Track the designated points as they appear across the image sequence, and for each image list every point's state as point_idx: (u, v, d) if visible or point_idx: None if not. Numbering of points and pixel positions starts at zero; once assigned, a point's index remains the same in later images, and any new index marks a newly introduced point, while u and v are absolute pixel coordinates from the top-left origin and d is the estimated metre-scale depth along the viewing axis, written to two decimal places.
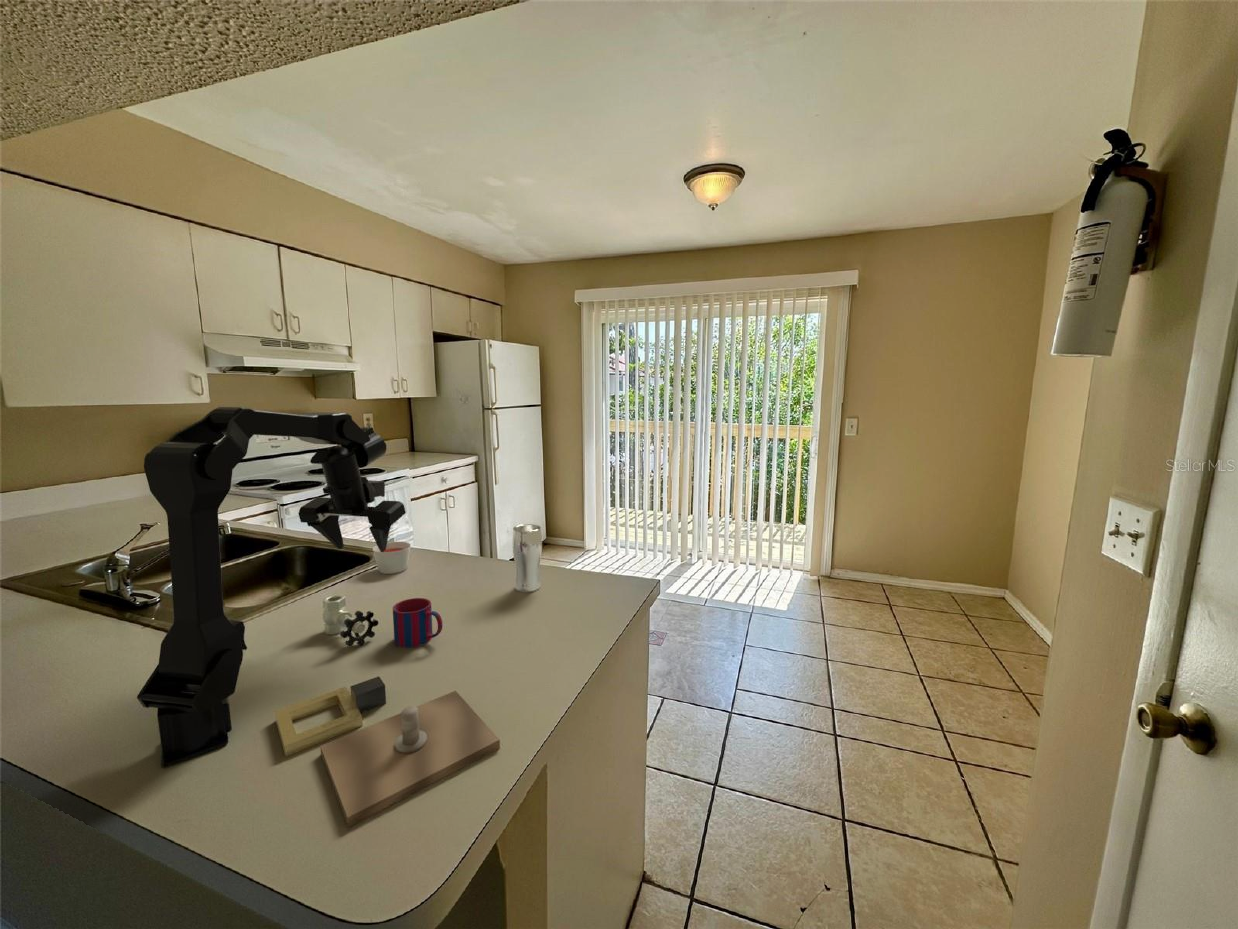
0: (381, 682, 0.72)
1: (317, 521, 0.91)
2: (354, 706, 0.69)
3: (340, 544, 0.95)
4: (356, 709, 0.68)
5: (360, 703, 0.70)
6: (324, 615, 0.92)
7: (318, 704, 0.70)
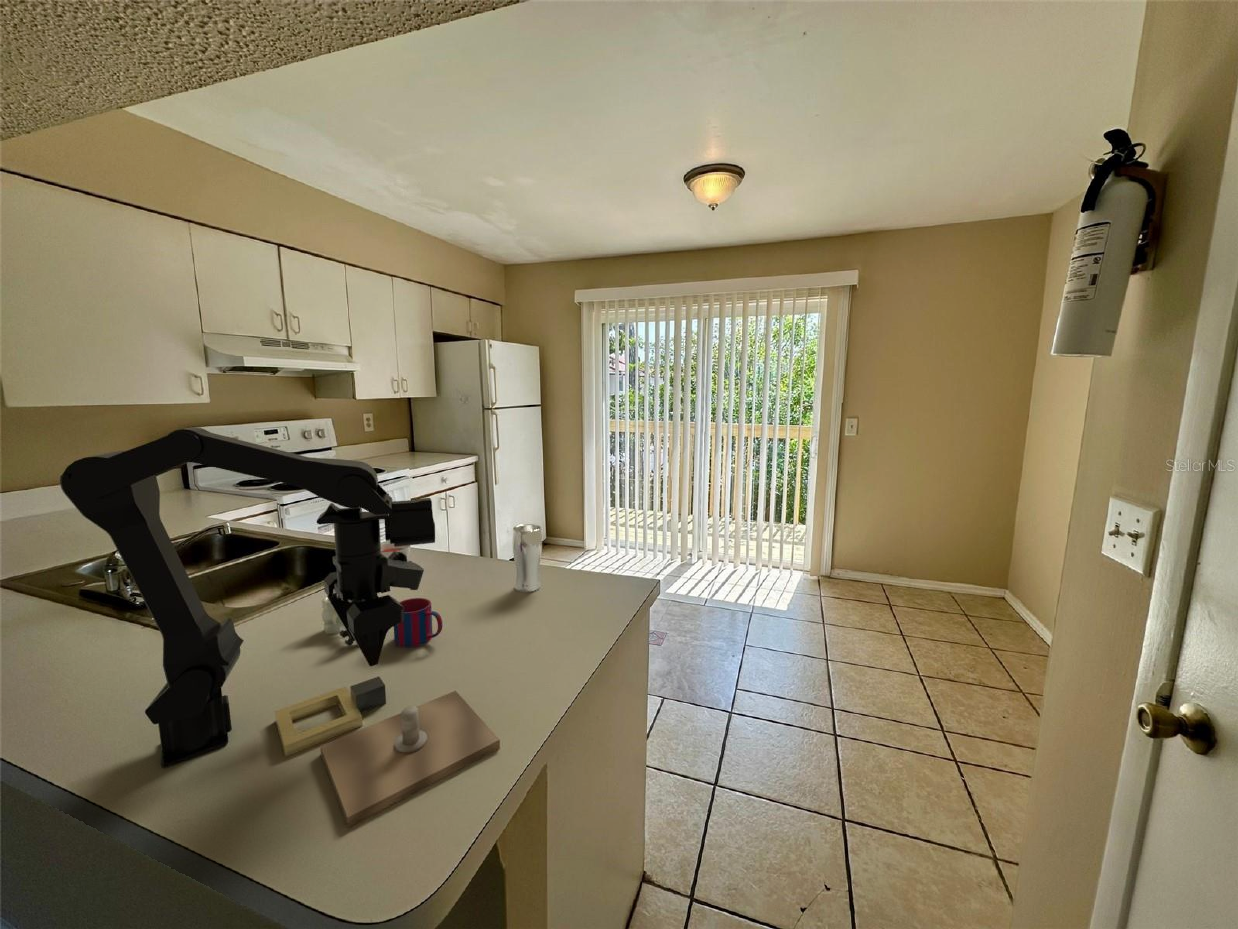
0: (381, 682, 0.72)
1: (335, 596, 0.73)
2: (354, 706, 0.69)
3: None
4: (356, 709, 0.68)
5: (360, 703, 0.70)
6: (323, 615, 0.92)
7: (318, 704, 0.70)
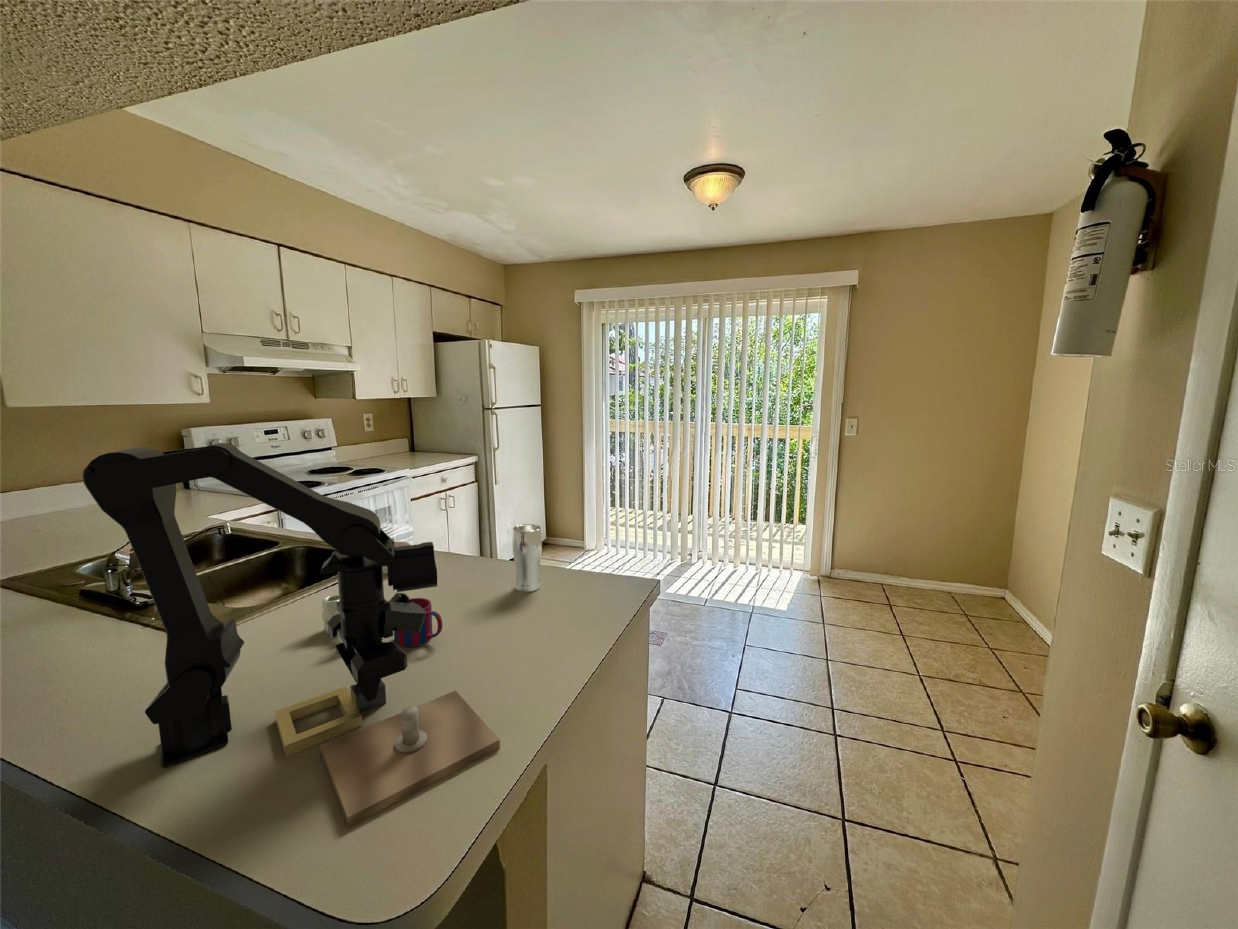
0: (381, 682, 0.72)
1: (344, 646, 0.72)
2: (354, 706, 0.69)
3: None
4: (356, 709, 0.68)
5: (360, 703, 0.70)
6: (323, 614, 0.92)
7: (318, 704, 0.70)
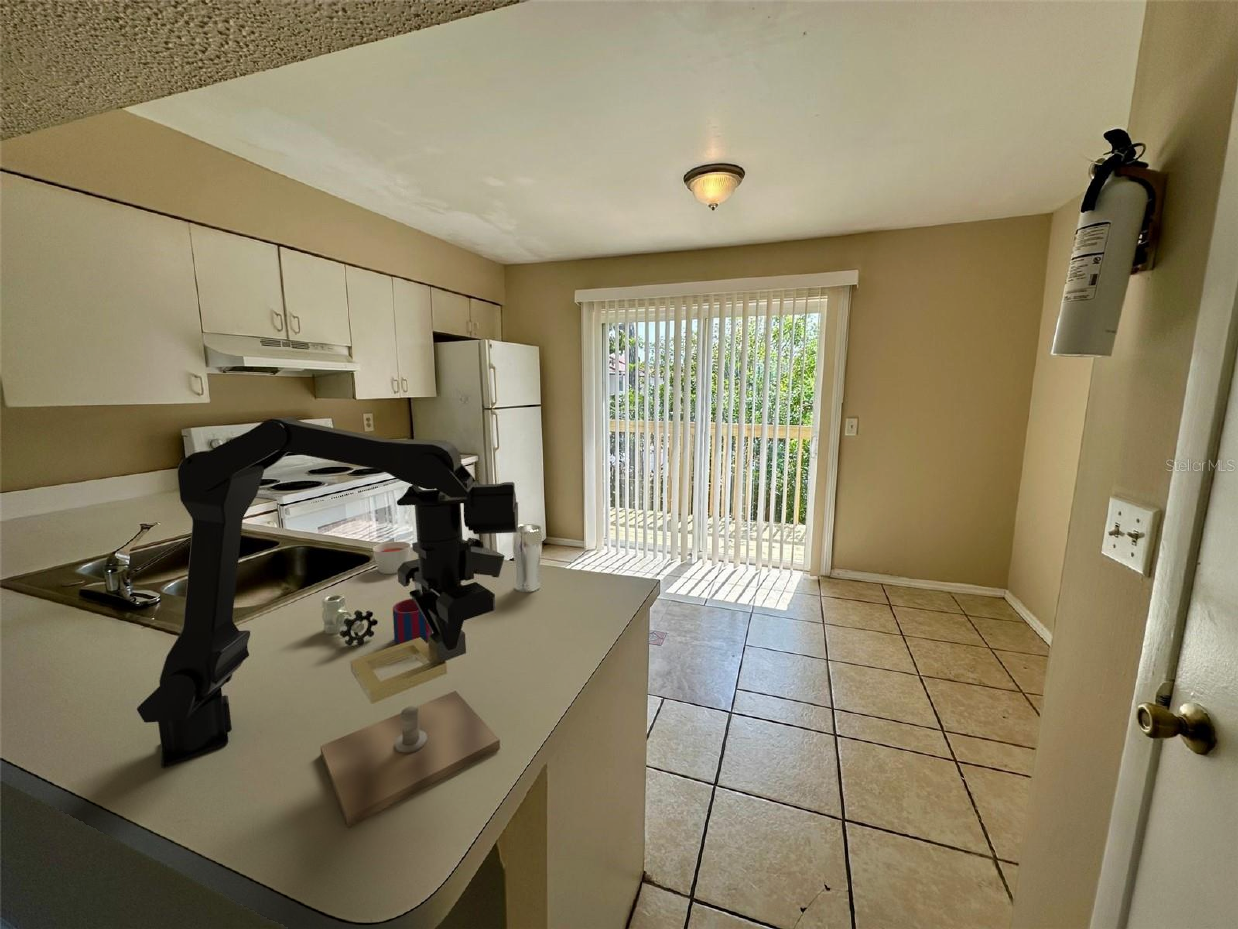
0: None
1: (419, 592, 0.66)
2: (435, 654, 0.63)
3: None
4: (438, 657, 0.63)
5: (441, 652, 0.64)
6: (323, 615, 0.92)
7: (394, 653, 0.64)
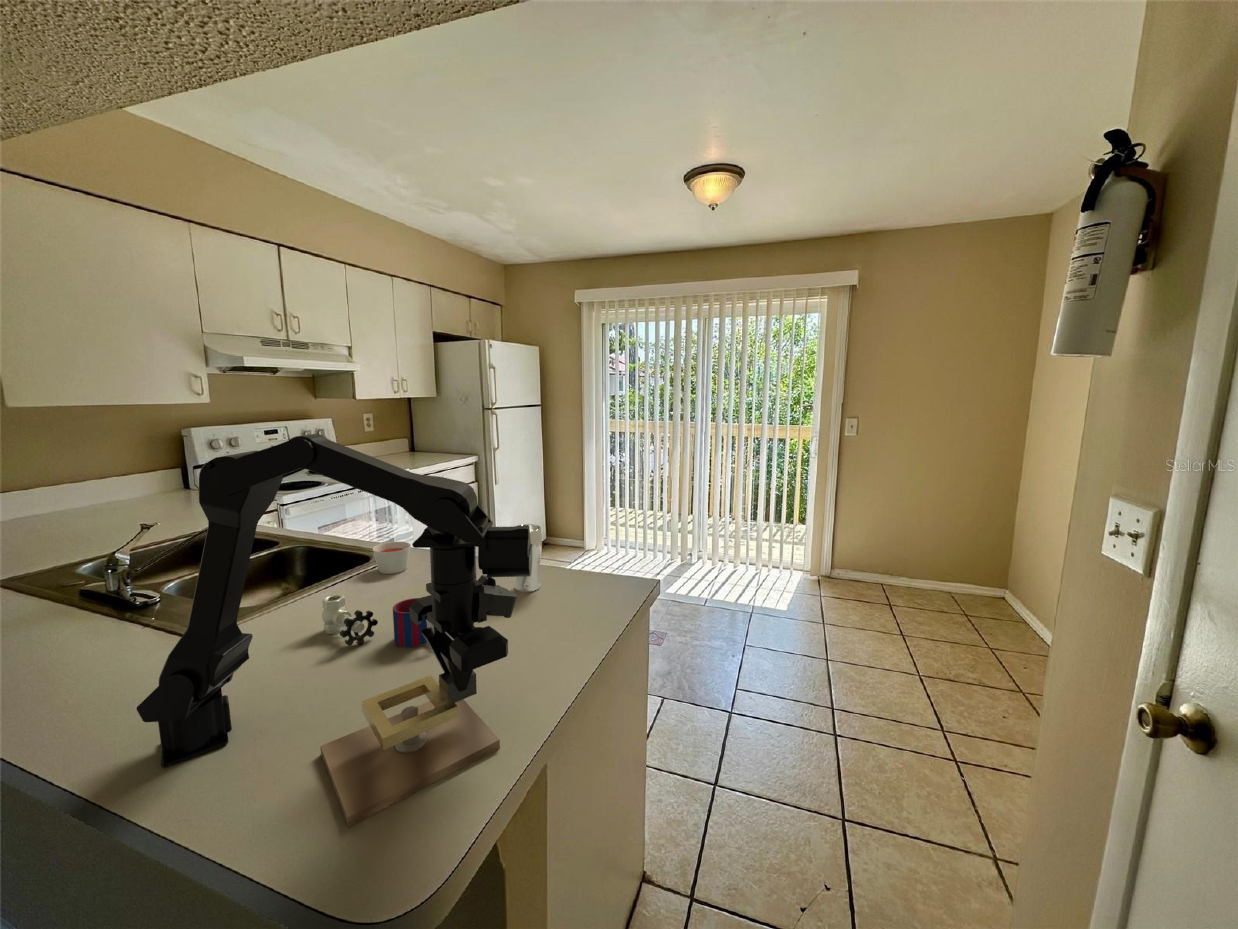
0: None
1: (431, 632, 0.66)
2: (446, 696, 0.63)
3: None
4: (449, 699, 0.63)
5: (452, 693, 0.64)
6: (323, 614, 0.92)
7: (405, 693, 0.64)
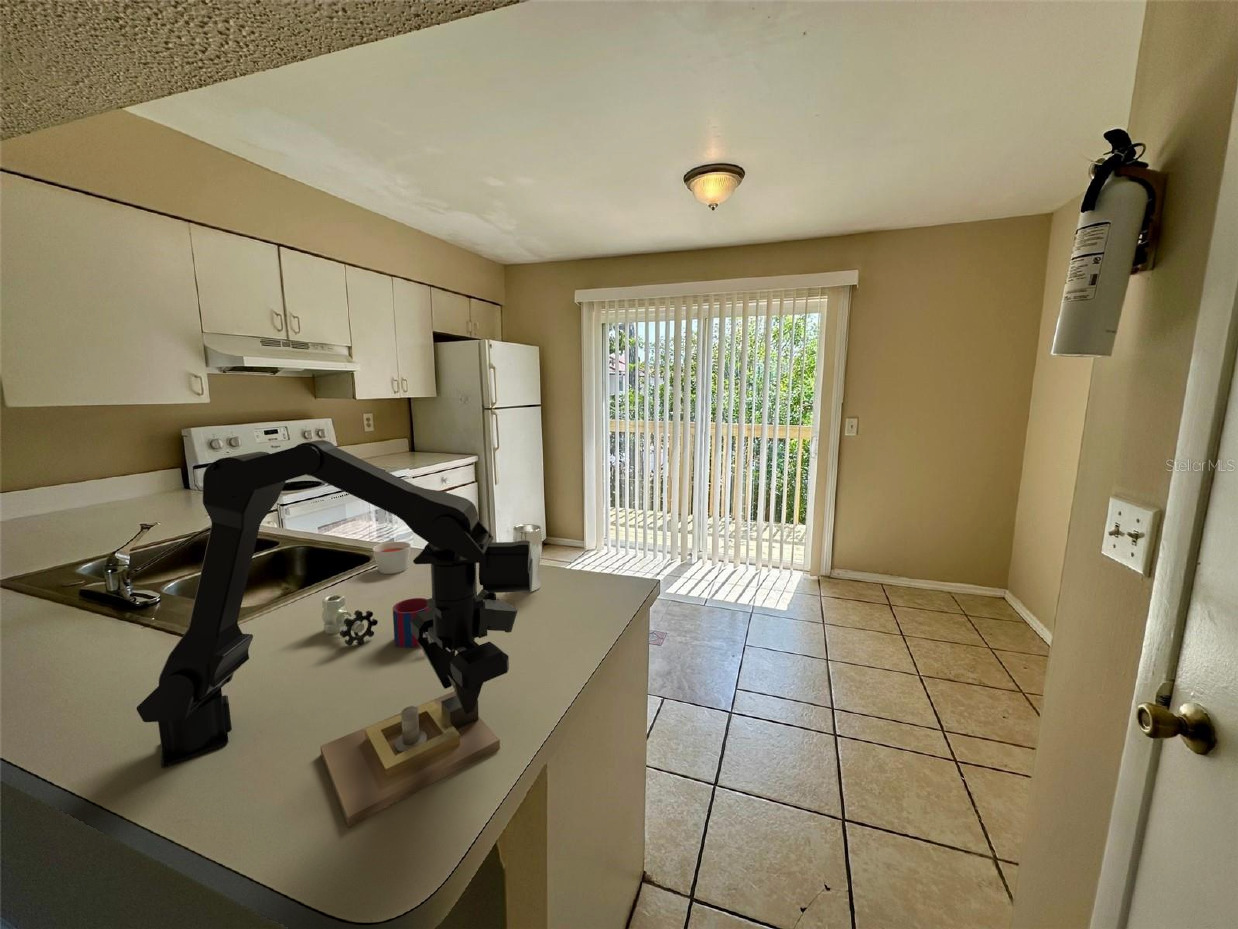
0: None
1: (427, 641, 0.68)
2: (448, 723, 0.64)
3: (447, 682, 0.69)
4: (452, 727, 0.63)
5: (454, 720, 0.65)
6: (323, 614, 0.92)
7: None
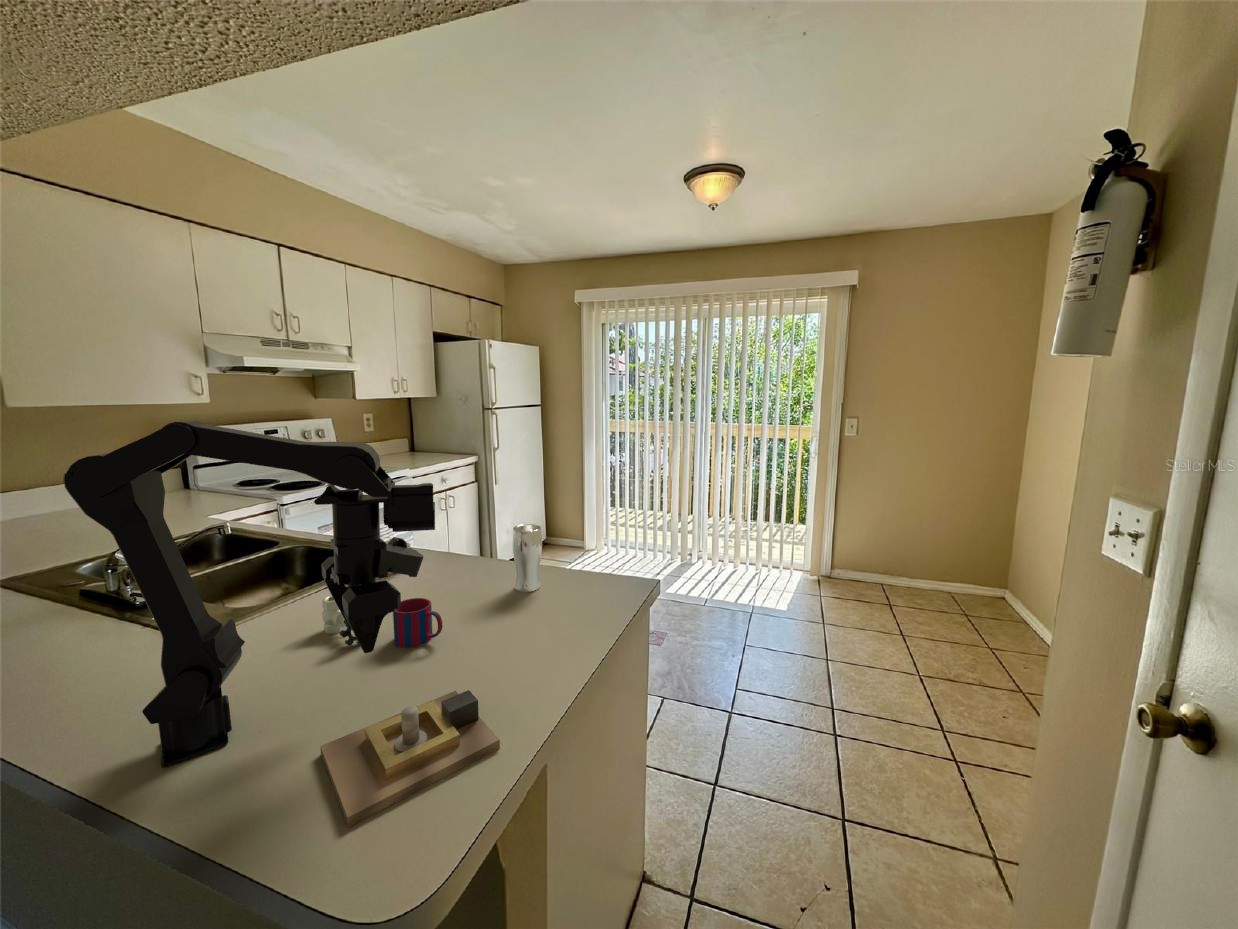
0: (473, 697, 0.67)
1: (332, 581, 0.71)
2: (448, 723, 0.64)
3: None
4: (452, 727, 0.63)
5: (454, 720, 0.65)
6: (323, 614, 0.92)
7: None
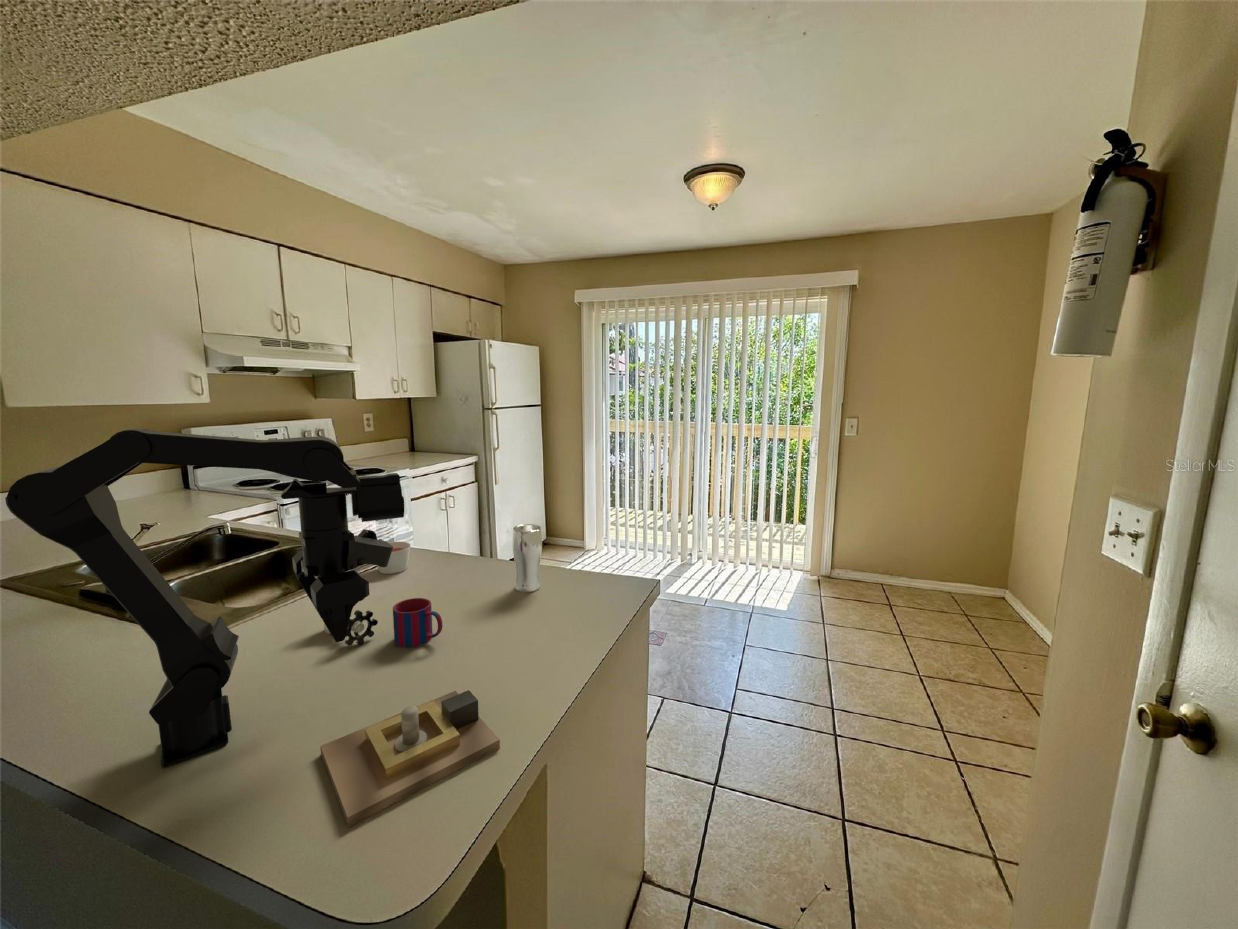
0: (473, 697, 0.67)
1: (303, 573, 0.72)
2: (448, 723, 0.64)
3: None
4: (452, 727, 0.63)
5: (454, 720, 0.65)
6: None
7: None
